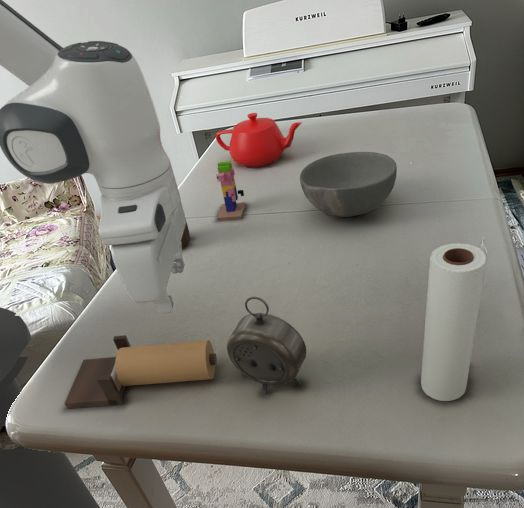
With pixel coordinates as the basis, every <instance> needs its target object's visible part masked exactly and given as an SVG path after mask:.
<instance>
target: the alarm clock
mask: <svg viewBox="0 0 524 508" xmlns="http://www.w3.org/2000/svg"><path fill="white" fill-rule="evenodd" d="M251 300H258V301H259V302H262V304H264V306H265V308H266V312H265V313H264V312H254V313H253V312H252V311H251V310H250V309H249V307H248V303H249V301H251ZM244 307H245V310H246V311H247V313H249V314H246V315H244V316H243V317H242V318H240V319H239V321H238V323H237V325H236V326H235V328H234V329H233V331H232V333H231V334H230V336H228V339H227V343H226V351H227V356H228V358H229V359H230V362H231V363H232V364H233V366H234V367H235V368H236V369H237V370H238V371H239V373H241V374H242V375H244V376H245V377H246V378H248V379H249V380H251V381H253V382H256V383H258V384H260V385H261V387H262V390H261V391H262V394H264V395H266V394H267V392H268V386H271V387H277V386H279V387H280V386H284V385H288V384H289V383H291V382H292V381H294V382H295V383H296V385H297V386H301V385H302V381H300V379H299V378H298V374H299V372H300V370H301V367H302V365H303V364H304V362H305V360H306V357H307V345H306V342H305V340H304V339H303V336H302V335H301V334H300V333H299V331H298V330H297V329H296V328H295V327H294V326H293V325H291V323H289V322H288V321H286V320H284V319H282V318H280V317H278V316H276V315H273V314H269V310H270V306H269V304H268V303H267V302H266V301H265V300H264V299H263V298H261V297H258V296H250V297H248V298H246V300H245V302H244Z"/></svg>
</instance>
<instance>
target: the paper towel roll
mask: <svg viewBox="0 0 524 508" xmlns="http://www.w3.org/2000/svg"><path fill="white" fill-rule="evenodd" d="M484 240H485V238H484V237H482V239H481V245H480V247H479V246H475V245H472V244H469V243H460V242H458V243H447V244H444V245H441V246H438V247H437V248H435V249H434V250H432V252H431V254H430V256H429V269H428V282H427V296H426V306H425V307H426V309H425V321H424V334H423V336H424V337H423V348H422V362H421V374H420V375H421V376H420V383H421V390H422V391H423V392H424V394H425V395H426V396H428V397H430V398H431V399H433V400H436V401H440V402H452V401H455V400H459V399H460V398H461V397H462V396H463V395H464V394H465V393H466V390H467V385H468V380H469V372H470V367H471V365H470V364H471V360H472V353H473V348H474V341H475V334H476V329H477V322H478V316H479V310H480V303H481V297H482V290H483V284H484V279H485V278H484V277H485V272H486V265H487V260H488V250H487V248H486V246H485V245H484V242H485V241H484Z"/></svg>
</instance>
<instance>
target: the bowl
mask: <svg viewBox="0 0 524 508" xmlns="http://www.w3.org/2000/svg"><path fill="white" fill-rule="evenodd" d="M397 167H398V166H397V162H396V161H395V160H394V158H393V157H391V156H389V155H387V154H385V153H381V152H374V151H353V152H351V151H350V152H343V153H335V154H330V155H327V156H324V157H321V158H318V159H316V160H314V161H312V162H310V163H308V164H307V165H306V166H304V167H303V169H302V170H301V172H300V174H299V184H300V187H301V190H302V192H303V194H304V196H305V198H306V199H307V200H308V202H309V203H310V204H311V205H312V206H313V207H314V208H316V209H317V210H319V211H320V212H322V213H323V214H326V215H328V216H332V217H342V218H346V217H347V218H348V217H355V216H360V215H364V214H367V213H370V212H372V211H374V210H376V209H377V208H379V207H380V206H382V204H383V203H384V202H385V201H386V200H387V198H389V196H390V195H391V193H392V191H393V190H394V187H395V184H396V179H397V172H398V171H397V170H398V169H397Z"/></svg>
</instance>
